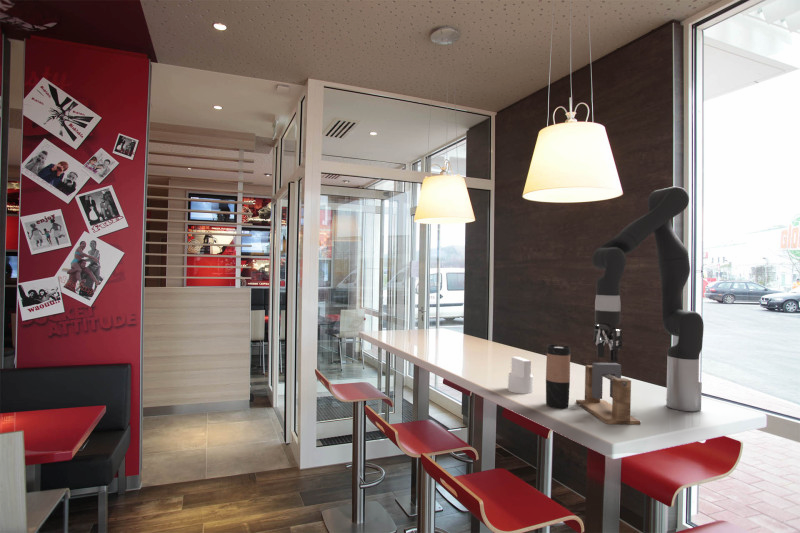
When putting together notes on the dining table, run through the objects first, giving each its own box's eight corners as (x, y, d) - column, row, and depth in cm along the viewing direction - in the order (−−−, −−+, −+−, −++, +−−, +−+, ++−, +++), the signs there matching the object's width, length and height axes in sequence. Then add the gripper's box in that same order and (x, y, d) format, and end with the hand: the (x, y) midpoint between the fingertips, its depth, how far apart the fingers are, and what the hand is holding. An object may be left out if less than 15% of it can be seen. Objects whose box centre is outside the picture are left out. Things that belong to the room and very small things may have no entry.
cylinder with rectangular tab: (503, 388, 175) (504, 357, 175) (523, 387, 178) (524, 356, 178) (516, 394, 167) (517, 361, 167) (537, 393, 169) (538, 360, 170)
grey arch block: (615, 396, 149) (616, 363, 149) (620, 399, 146) (621, 364, 146) (591, 396, 148) (592, 362, 149) (596, 398, 145) (596, 364, 146)
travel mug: (553, 409, 149) (555, 348, 149) (540, 403, 156) (542, 344, 156) (574, 408, 151) (575, 348, 151) (560, 401, 158) (561, 344, 158)
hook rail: (604, 403, 158) (605, 365, 158) (639, 424, 136) (640, 380, 136) (576, 402, 158) (576, 365, 158) (607, 423, 136) (608, 380, 136)
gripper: (630, 311, 140) (630, 363, 140) (608, 307, 155) (607, 355, 154) (607, 311, 140) (606, 363, 140) (586, 307, 154) (585, 355, 154)
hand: (606, 359), depth 147 cm, fingers open, 8 cm apart
